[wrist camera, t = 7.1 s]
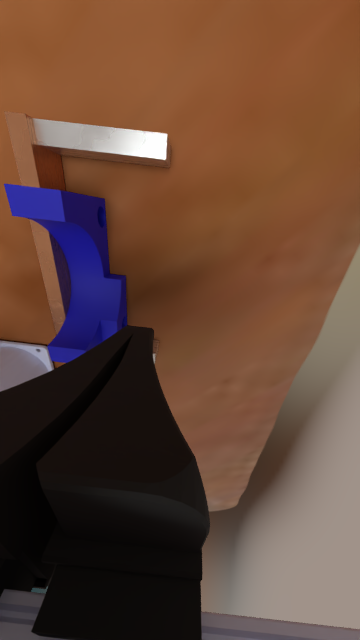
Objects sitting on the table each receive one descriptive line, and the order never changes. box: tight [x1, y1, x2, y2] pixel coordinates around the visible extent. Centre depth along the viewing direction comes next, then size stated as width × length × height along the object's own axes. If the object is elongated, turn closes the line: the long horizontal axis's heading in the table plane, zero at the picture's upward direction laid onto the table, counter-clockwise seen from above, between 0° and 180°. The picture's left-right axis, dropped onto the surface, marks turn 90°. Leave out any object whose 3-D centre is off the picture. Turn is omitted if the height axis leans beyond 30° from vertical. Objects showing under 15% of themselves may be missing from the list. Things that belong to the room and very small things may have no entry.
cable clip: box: [4, 184, 127, 363], centre depth 16 cm, size 12×4×6 cm, turn 174°
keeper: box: [4, 111, 171, 363], centre depth 17 cm, size 9×18×3 cm, turn 174°
